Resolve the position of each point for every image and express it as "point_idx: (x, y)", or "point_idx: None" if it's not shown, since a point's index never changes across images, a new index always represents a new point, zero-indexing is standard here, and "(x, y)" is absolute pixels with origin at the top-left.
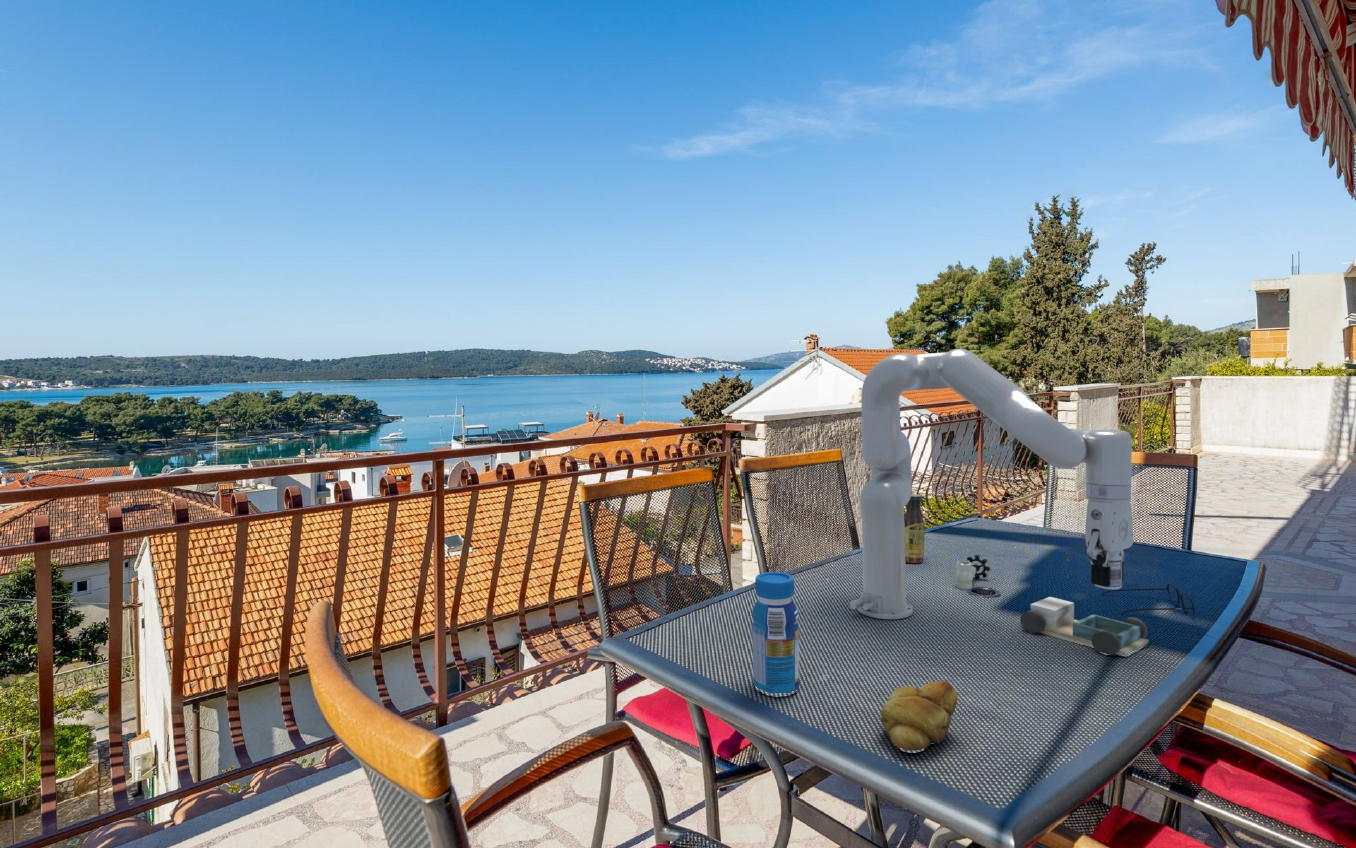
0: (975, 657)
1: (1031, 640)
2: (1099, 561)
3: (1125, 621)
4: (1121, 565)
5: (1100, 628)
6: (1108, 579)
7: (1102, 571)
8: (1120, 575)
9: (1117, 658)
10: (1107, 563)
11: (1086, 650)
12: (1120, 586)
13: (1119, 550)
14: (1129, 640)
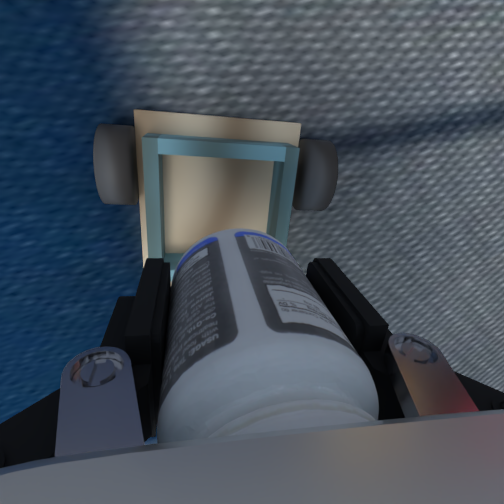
0: (480, 320)
1: None
2: (489, 389)
3: (130, 192)
4: (257, 300)
5: (164, 241)
6: (343, 279)
7: (387, 329)
8: (258, 260)
9: (307, 138)
10: (399, 356)
11: (306, 211)
12: (243, 231)
13: (458, 418)
14: (228, 140)
